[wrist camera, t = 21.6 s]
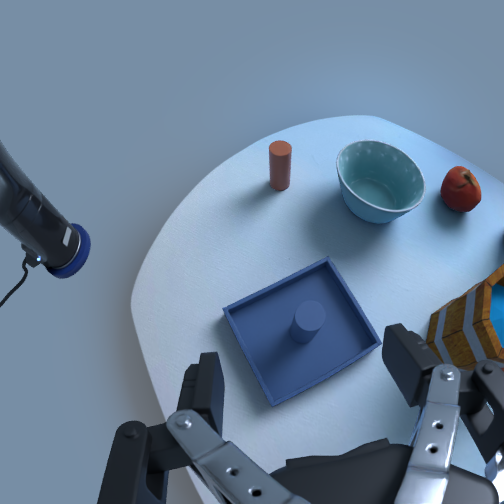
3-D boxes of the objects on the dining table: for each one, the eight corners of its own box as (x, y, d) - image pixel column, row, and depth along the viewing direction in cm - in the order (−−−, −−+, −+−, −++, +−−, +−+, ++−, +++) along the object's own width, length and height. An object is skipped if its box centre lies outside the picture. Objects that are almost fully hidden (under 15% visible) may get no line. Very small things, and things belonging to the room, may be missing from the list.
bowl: (347, 157, 56) (354, 127, 48) (417, 192, 51) (432, 164, 44) (314, 212, 50) (320, 181, 43) (395, 253, 46) (414, 228, 38)
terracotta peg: (275, 193, 53) (275, 158, 44) (266, 179, 54) (265, 144, 46) (293, 186, 53) (295, 151, 45) (283, 173, 55) (284, 137, 47)
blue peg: (297, 348, 40) (304, 336, 32) (285, 326, 41) (288, 309, 33) (319, 336, 40) (331, 321, 32) (307, 314, 42) (316, 295, 34)
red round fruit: (464, 187, 51) (480, 164, 44) (474, 222, 47) (494, 200, 40) (431, 179, 53) (445, 153, 45) (439, 215, 49) (457, 191, 41)
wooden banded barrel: (410, 347, 39) (464, 323, 25) (448, 284, 43) (498, 243, 29) (481, 412, 32) (541, 408, 18) (511, 349, 36) (567, 327, 22)
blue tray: (271, 405, 37) (271, 407, 35) (225, 313, 43) (222, 308, 41) (376, 346, 40) (382, 343, 37) (325, 263, 46) (328, 255, 43)
